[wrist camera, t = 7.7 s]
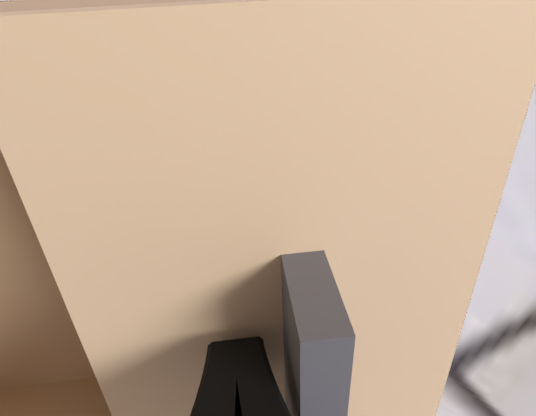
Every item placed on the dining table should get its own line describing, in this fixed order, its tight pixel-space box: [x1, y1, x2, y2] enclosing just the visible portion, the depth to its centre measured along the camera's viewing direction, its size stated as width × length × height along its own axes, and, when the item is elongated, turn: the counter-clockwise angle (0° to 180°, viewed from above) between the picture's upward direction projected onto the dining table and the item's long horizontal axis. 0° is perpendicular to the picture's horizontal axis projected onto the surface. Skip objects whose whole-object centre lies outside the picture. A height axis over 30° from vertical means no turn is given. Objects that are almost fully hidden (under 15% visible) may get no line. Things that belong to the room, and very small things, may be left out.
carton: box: [0, 0, 203, 416], centre depth 13 cm, size 16×20×5 cm
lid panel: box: [0, 0, 536, 416], centre depth 10 cm, size 16×10×3 cm, turn 2°
